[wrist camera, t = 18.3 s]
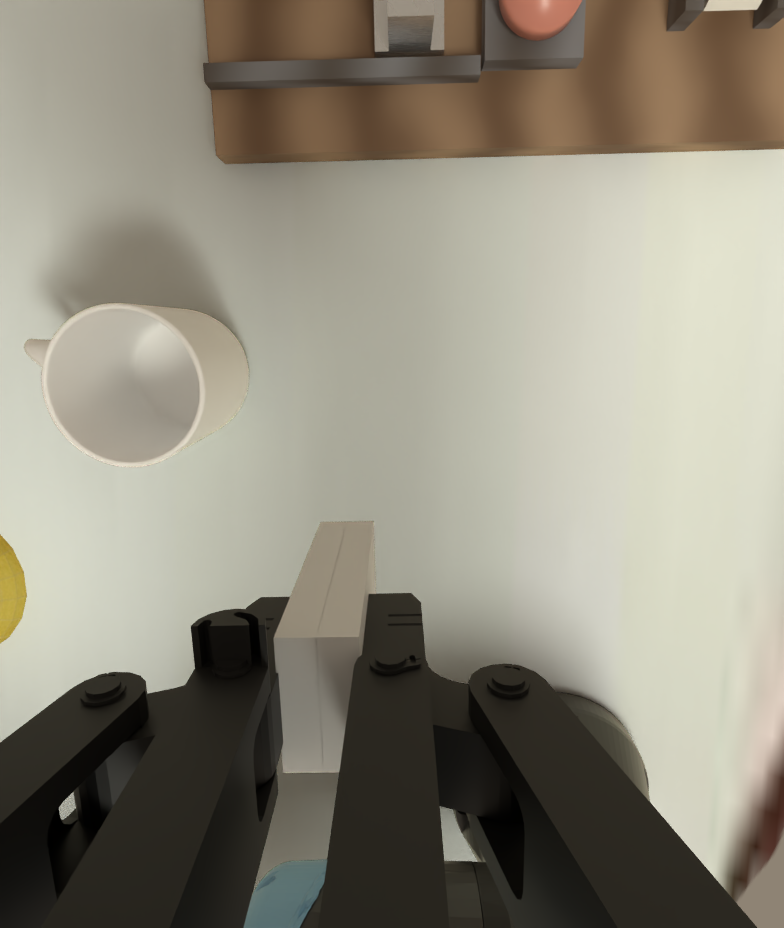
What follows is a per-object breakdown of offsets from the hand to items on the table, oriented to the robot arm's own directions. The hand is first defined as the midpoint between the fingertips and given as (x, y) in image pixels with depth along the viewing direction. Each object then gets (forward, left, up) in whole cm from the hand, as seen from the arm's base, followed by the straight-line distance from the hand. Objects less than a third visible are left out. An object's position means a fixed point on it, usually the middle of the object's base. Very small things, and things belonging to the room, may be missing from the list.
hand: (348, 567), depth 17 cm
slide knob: (+14, -20, -24) cm, 34 cm away
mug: (+14, +6, -27) cm, 31 cm away
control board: (+9, -24, -26) cm, 37 cm away
